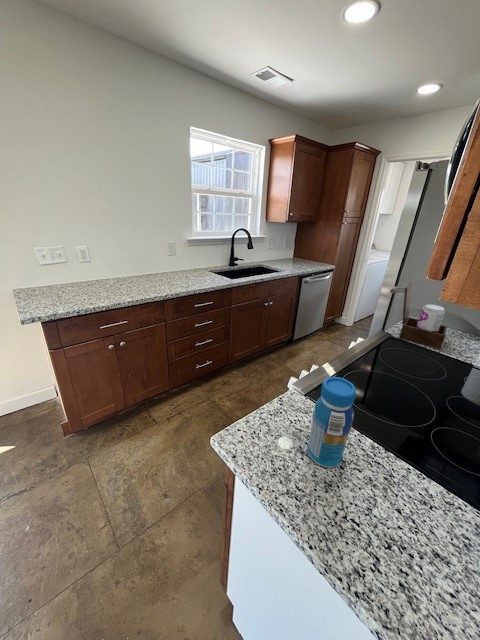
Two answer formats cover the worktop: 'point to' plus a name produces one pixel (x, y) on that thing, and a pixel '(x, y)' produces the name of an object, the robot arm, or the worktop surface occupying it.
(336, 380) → the beverage bottle
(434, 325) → the supplement can
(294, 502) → the worktop surface
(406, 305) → the bin lid
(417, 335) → the storage bin
